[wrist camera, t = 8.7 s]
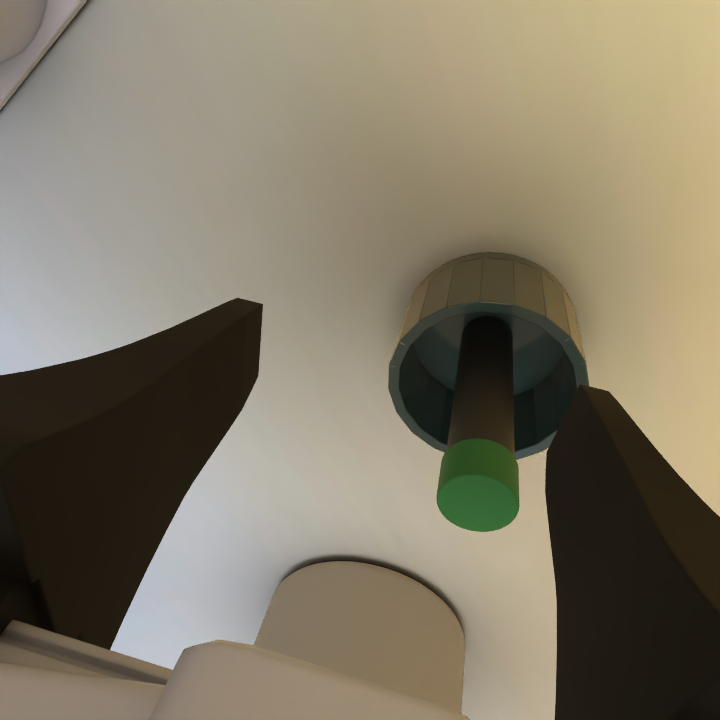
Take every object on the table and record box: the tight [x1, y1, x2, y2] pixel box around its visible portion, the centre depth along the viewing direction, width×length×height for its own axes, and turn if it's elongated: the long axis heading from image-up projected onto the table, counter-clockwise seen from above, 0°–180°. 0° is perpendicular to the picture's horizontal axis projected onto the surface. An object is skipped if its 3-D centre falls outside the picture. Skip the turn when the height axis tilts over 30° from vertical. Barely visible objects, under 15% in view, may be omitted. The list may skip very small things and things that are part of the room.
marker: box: [437, 316, 519, 532], centre depth 19 cm, size 2×2×9 cm
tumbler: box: [388, 253, 589, 460], centre depth 21 cm, size 7×7×4 cm
